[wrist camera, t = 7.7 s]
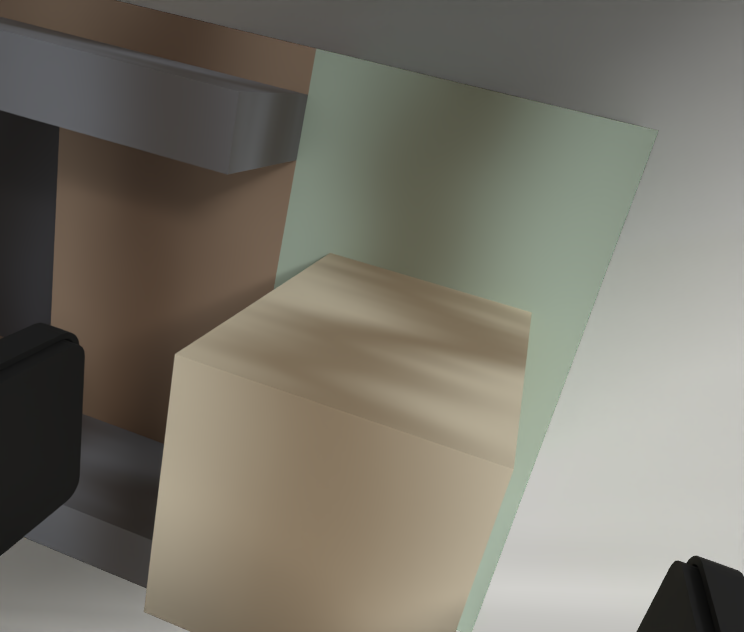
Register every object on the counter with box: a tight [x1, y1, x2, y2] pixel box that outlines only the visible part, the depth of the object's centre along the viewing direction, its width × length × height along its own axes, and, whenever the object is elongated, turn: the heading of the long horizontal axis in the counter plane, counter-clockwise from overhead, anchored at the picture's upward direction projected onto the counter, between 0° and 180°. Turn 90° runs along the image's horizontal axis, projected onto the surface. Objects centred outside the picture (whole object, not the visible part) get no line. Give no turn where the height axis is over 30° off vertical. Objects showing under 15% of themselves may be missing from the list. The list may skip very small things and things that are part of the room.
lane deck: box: [0, 0, 658, 632], centre depth 17 cm, size 23×14×6 cm, turn 77°
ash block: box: [144, 253, 532, 632], centre depth 13 cm, size 5×5×7 cm
